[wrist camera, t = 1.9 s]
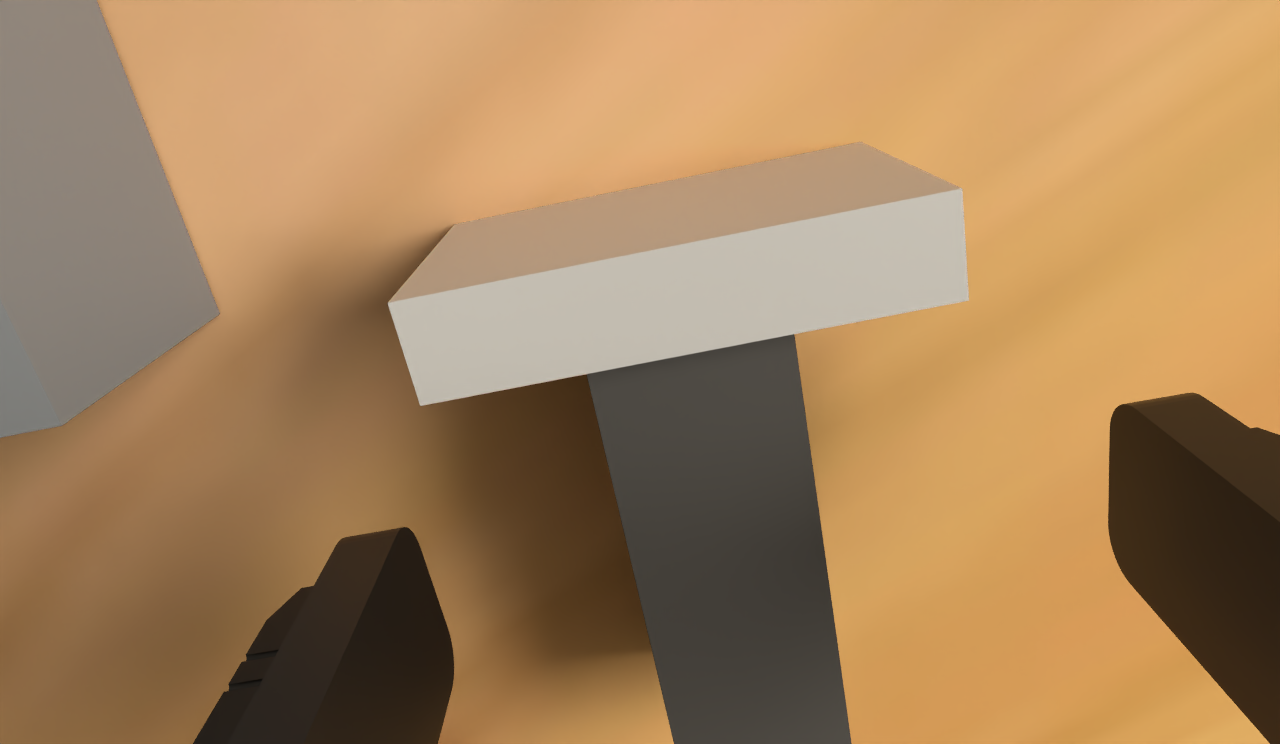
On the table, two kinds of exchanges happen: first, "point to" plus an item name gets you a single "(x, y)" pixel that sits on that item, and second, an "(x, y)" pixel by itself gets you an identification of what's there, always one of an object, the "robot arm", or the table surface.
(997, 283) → the table surface
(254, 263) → the table surface
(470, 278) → the scraper
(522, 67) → the table surface
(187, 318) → the platform
